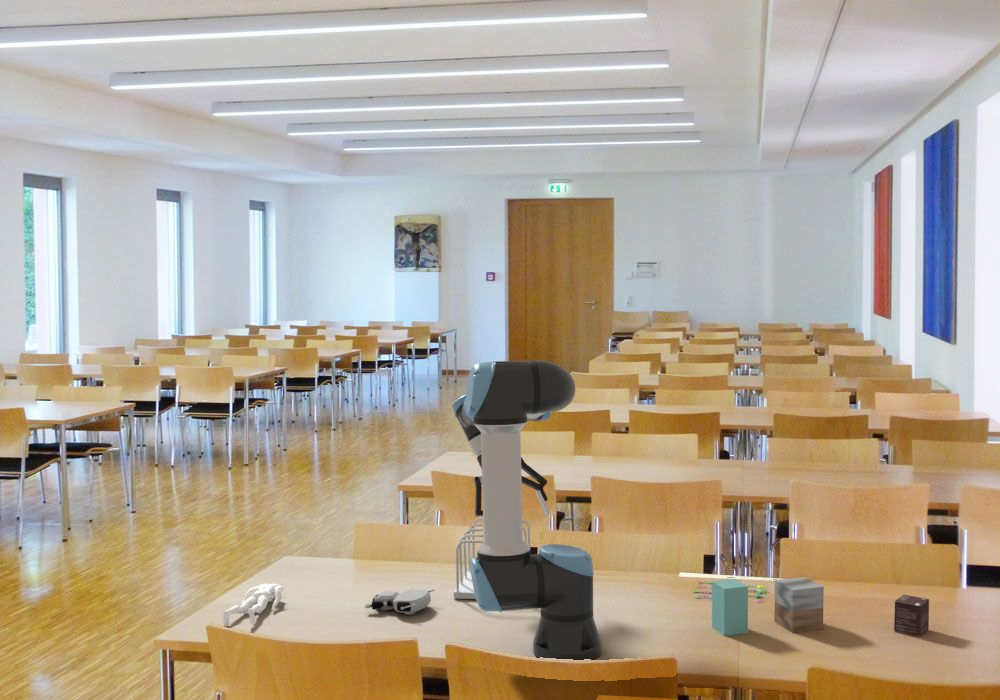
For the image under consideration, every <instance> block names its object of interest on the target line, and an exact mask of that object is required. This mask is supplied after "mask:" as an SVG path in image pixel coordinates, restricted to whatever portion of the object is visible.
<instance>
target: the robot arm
mask: <svg viewBox="0 0 1000 700" xmlns="http://www.w3.org/2000/svg"><path fill="white" fill-rule="evenodd" d="M575 383H576V382H575V380H574V378H573V376H572V374H571V373H570V372H569V371H568V370H567V369H566V368H564V367H563V366H562V365H560V364H557V363H554V362H552V361H548V360H542V359H533V360H497V361H495V360H492V361H491V360H490V361H483V362H477V363H475V364H473V366H472V367H471V368H470V371H469V374H468V377H467V384H466V394H464V395H462V396H460V397H459V398H457V399H456V400H454V401H453V403H452V409H453V411H454V413H455V414H454V415H455V417H456V419H457V420H458V422H459V425H460V426H461V429H462V430H463V433H464V434H465V437H466V439H467V441H468V443H469V445H470V448H471V450H472V452H473V454H474V456H477V457H476V460H477V462H478V464H479V467H480V470H481V475H480V476H475V477H474V478H473V483H474V487H475V501H474V502H475V508H474V509H475V511H474V512H475V513H474V515H475V517H478V518H479V517H482V518H483V520H482V524H483V526H482V529H483V530H484V531H483V534H484V537H483V540H482V541H483V543H480V545H478V547H477V549H476V556H475V557H474V558H473V557H471V560H470V569H471V577H472V582H473V588H474V592H475V596H476V599H475V600H476V603H477V605H478V606H477V607H479V608H480V610H482V611H484V612H500V613H502V612H508V611H519V610H520V611H521V610H533V609H534V610H536V609H540V616H539V617H540V618H539V622H538V625H537V628H536V631H535V634H534V637H533V641H532V651H533V652H532V653H533V655H534V656H535V657H537V658H538V657H543V658H556V659H573V660H584V659H594V660H595V659H597V658H599V657H600V656H601V655H602V650H603V649H602V648H603V647H602V640H601V636H600V634H599V630H598V627H597V624H596V620H595V618H594V576H595V572H594V566H593V565H594V564H593V559H592V556H591V554H590V553H589V552H587V551H586V550H584V549H582V548H579V547H577V546H573V545H567V544H566V545H565V544H557V543H555V544H554V543H552V544H545V545H542V546H540V547H539V550H538V554H537V553H536V554H535V553H534V554H531V546H530V547H529V546H528V543H527V544H526V543H525V539H524V531H523V527H524V524H523V523H524V522H523V519H524V518H523V517H524V516H523V491H522V490H523V489H522V488H523V485H525V486H527V487H529V488H531V489H534V490H536V491H535V496H536V498H537V500H538V502H539V504H540V507H541V508H542V510H543V513H544V514H545V516H549V515H551V510H550V509H549V507H548V504H547V501H548V496H547V494H546V492H545V490H544V487H545V486H546V485H548V480H547V479H546V478H545V477H544V476H542V475H541V474H540V473H538V472H537V471H536V470H535V469H533V467H531V466H530V465H528V464H527V463H526V462H525V460H524V458H523V457H522V453H521V451H522V450H521V449H522V446H521V444H522V443H521V432H522V430H523V428H525V426H526V425H527V424H528V422H540V421H541V422H542V421H547V420H549V419H550V418H551V415H552V412H553V413H556V412H559V411H561V410H563V409H565V408H567V407H568V406H569V405H570V404H571V403H572V401H573V400H574V398H575V395H576V384H575ZM522 471H524V472H525V473H527V474H528V475H529V476H530V477H531V478H532V479H534V480H535V481H533V480H532V479H529V478H527V477H525V476H523V475H522Z"/></svg>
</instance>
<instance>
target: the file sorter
mask: <svg viewBox="0 0 1000 700" xmlns="http://www.w3.org/2000/svg"><path fill="white" fill-rule="evenodd" d="M478 521H483V517H478V518H476V519H475V520H474V521H473V523H472V525H471V526H470V527H469V528H468V530H467V531H466V532H465V533H464V535H463V536H462V537H461V538H460V540H459V542H458V544H457V546H456V549H455V550H456V555H455V556H456V558H455V562H456V563H455V565H456V567H455V568H456V587H455V589H454V591H453V599H461V600H463V599H465V600H476V596H475V592H474V588H473V582H472V577H471V569H470V560H471V559H472V558H474V557H476V555H475V554H476V550H475V544H482V543H483V541H484V540H478V539H477V540H476V539H475V538H484V533H482V534H481V533H479V534H477V533H476V534H475V532H484V530H483V528H475V527H483V523H477V522H478ZM523 523H525V525H526V526H527V530H526V528H525V527H524V526H523V538H524V542H525V543H526V544H527V545H528V546H529V547H530V548H531V527H530V524H529V522H528V521H527V520H526V519H524V518H523ZM471 532H472V534H471ZM471 538H472V539H471ZM471 544H472V556H471ZM462 545H463V551H462ZM467 552H468V553H467ZM462 553H463V554H462ZM467 554H468V562H467ZM462 555H463V556H462ZM463 559H464V560H463ZM463 563H464V571H463ZM467 563H468V565H467ZM467 566H468V567H467ZM467 568H468V569H467ZM459 571H460V572H459ZM463 572H464V574H463ZM459 574H460V575H459ZM463 575H464V576H463Z"/></svg>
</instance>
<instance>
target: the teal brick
mask: <svg viewBox="0 0 1000 700" xmlns="http://www.w3.org/2000/svg"><path fill="white" fill-rule="evenodd" d="M711 582H712V584H711V588H712V590H711V591H712V593H711V595H712V599H711V628H712V629H714V631H717V632H718V633H720V635H722V636H724V637H725V636H734V635H735V636H736V635H741V634H742V635H744V634H748V633H749V602H748V601H749V595H748V594H749V591H748V590H749V586H748V585H746V584H745V583H743V582H742V581H740V580H739V579H723V580H712V581H711Z"/></svg>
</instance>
